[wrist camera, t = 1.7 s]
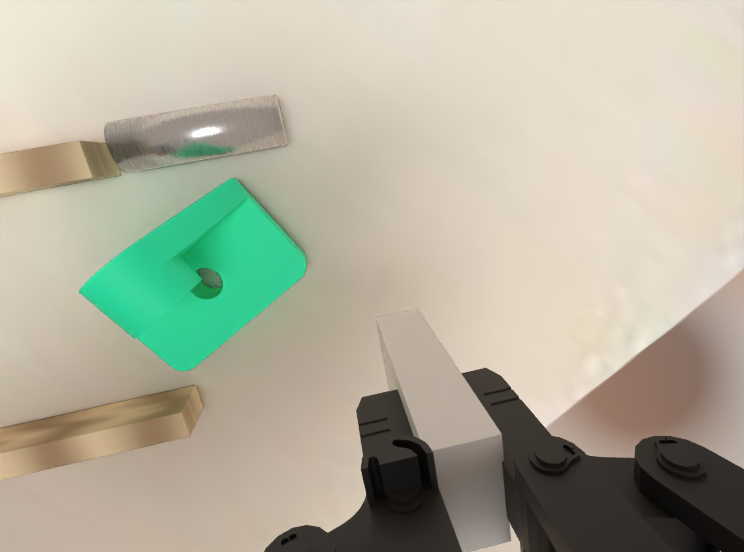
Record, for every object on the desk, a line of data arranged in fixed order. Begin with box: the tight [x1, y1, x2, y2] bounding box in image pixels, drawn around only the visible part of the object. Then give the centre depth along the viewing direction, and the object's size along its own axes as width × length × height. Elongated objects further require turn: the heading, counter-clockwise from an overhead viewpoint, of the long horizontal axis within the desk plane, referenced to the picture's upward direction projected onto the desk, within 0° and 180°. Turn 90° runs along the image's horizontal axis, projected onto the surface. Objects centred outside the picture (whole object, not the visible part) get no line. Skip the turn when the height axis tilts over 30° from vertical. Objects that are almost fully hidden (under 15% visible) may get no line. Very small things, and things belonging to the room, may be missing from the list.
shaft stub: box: [104, 95, 287, 173], centre depth 25 cm, size 10×3×3 cm
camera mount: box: [79, 178, 307, 371], centre depth 24 cm, size 12×8×10 cm, turn 129°
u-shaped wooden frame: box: [0, 141, 203, 480], centre depth 25 cm, size 18×20×5 cm
